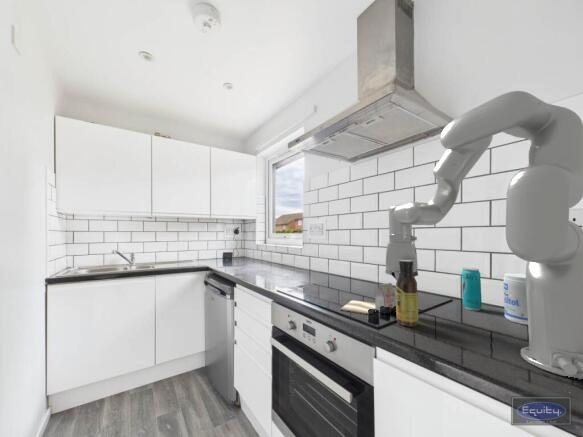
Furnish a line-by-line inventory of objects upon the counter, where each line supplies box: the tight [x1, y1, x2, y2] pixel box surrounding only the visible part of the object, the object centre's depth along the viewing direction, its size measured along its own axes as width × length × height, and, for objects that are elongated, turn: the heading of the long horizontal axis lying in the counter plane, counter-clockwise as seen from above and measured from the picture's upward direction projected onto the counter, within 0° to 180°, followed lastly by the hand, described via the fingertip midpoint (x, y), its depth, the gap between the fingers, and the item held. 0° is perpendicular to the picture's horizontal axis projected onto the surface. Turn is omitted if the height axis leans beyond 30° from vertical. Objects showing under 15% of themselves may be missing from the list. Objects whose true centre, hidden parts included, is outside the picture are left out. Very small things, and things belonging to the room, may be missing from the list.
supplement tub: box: [503, 272, 528, 326], centre depth 81 cm, size 10×10×15 cm
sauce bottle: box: [395, 260, 419, 328], centre depth 79 cm, size 6×6×20 cm
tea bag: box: [374, 282, 396, 310], centre depth 92 cm, size 4×7×10 cm, turn 124°
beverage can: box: [461, 267, 483, 312], centre depth 95 cm, size 6×6×15 cm
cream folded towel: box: [339, 299, 376, 315], centre depth 96 cm, size 14×11×1 cm
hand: (401, 291), depth 89 cm, fingers closed
